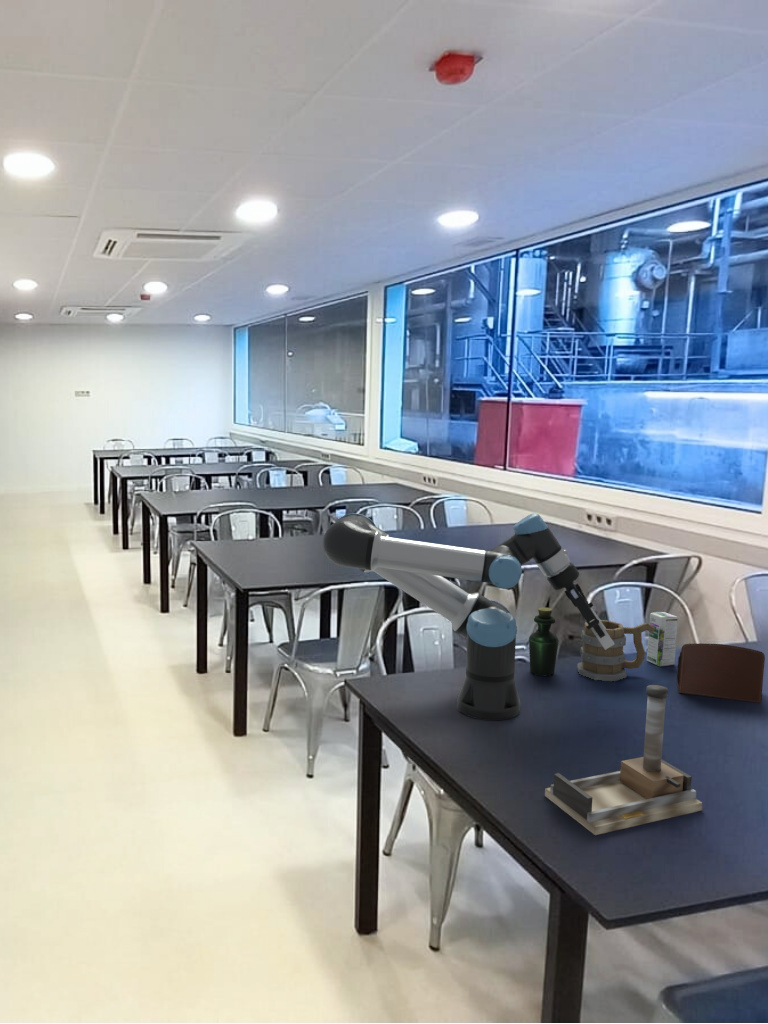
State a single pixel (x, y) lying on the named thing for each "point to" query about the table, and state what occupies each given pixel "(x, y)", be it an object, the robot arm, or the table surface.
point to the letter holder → (721, 672)
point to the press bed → (618, 802)
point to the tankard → (610, 652)
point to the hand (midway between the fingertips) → (605, 638)
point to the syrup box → (662, 639)
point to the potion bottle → (543, 644)
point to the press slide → (652, 754)
